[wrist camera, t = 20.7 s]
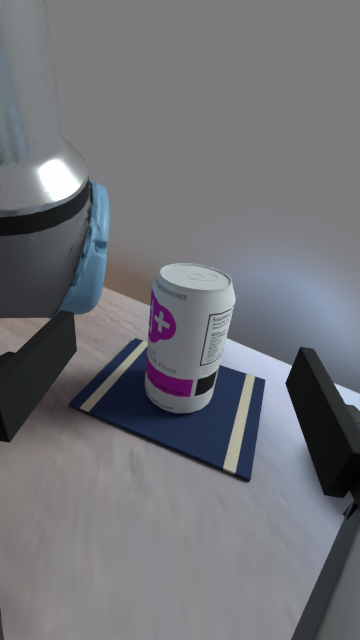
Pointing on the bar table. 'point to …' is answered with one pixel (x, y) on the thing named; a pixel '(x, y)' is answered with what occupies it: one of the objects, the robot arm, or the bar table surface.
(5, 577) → the bar table surface
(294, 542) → the bar table surface
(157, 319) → the white soda can
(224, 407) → the tea towel
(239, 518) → the bar table surface
